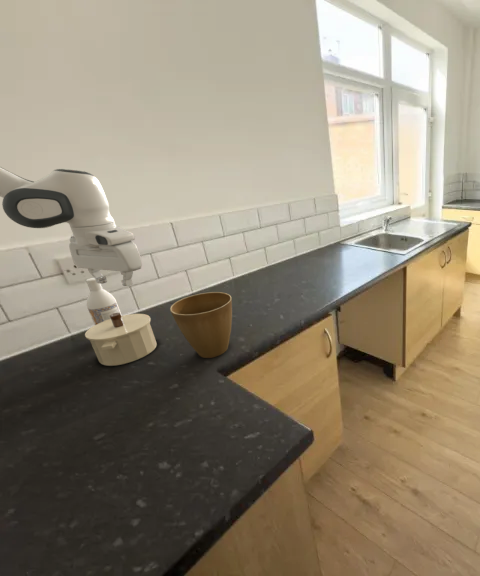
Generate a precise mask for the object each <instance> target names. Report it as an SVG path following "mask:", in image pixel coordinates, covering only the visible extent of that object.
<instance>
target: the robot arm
mask: <svg viewBox="0 0 480 576" xmlns="http://www.w3.org/2000/svg"><path fill="white" fill-rule="evenodd" d="M0 197H1V198H2V204H1V205H2V209H3V212H4V213H5V215H6V216H7V217H8V218H9V219H10V220H11V221H13V222H14V223H16V224H18V225H20V226H21V227H26V228H30V229H46V228H47V229H48V228H51V227H53V226H56V225H59V224H65V223H67V224H68V225H69V227H70V230H71V233H72V234H71V235H70V238H69V244H68V247H69V252H70V255H71V259H72V261H73V264H74V266H76V267H77V268H78V269H87V271H88V273H89V274H90V275H91V276H92V278H95V280H96V282H97V283H99V284H101V285H103V284H106V283H107V282H108V280H107V277H106V275H103V273H102V271H109V272H110V271H111V272H120V275H122V279H121V280H120V282H121V283H122V286H123V287H130V286H132V285H134V282H133V274H134V272H135V271H139V270H141V269H142V267H143V260H142V257H141V253H140V251H139V248H138V246H137V244H136V243H135V242H134V241H135V237H136V236H135V234H134V233H133V232H131V231H130V230H127V229H126V228H125V229H124V228H122V227H120V226H119V225H117V224H116V221H115V219H114V217H113V216H112V215H111V212H110V203H109V200H108V198H107V195H106V193H105V190H104V188H103V186H102V184H101V182H100V180H99V179H98V178H97V177H96V176H95V175H94V174H92V173H90V172H88V171H82V170H77V169H76V170H75V169H65V168H56V169H53V170H52V171H51V172H50V173H49V174H47V175H46V176H43V177H42V178H40V179H38V180H35V181H33V180H29V179H28V178H27V179H26V178H24V177H22V176H19V175H17V174H15V173H14V172H11V171H9V170H7V169H6V168H4V167H2V166H0Z"/></svg>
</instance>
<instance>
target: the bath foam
mask: <svg viewBox="0 0 480 576" xmlns="http://www.w3.org/2000/svg"><path fill="white" fill-rule="evenodd" d="M85 282H86V284H87V287H88V289H89V293H88V295H87V298H86V306H87V311H88V313H89V315H90V317H91V320H92V322H93V324H94V326H95V325H97V324H99V323H101V322H103V321H106V320H109V319H110V315H111V314H114V313H120V314H121V316H123V315H122V312H121V310H120V307H119V305H118V301H117V300H116V298H115V296H113V294H112V293H110V292H109V291H108V290H106V289H104V287H103V286H102V284H99V283H97V282H96V280H95V278H94V277H90V278H86V280H85Z"/></svg>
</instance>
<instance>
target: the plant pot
mask: <svg viewBox="0 0 480 576" xmlns="http://www.w3.org/2000/svg"><path fill="white" fill-rule="evenodd" d="M169 311H170V313H171V315H172V317H173V319H174V321H175V323H176V325H177V327H178V329H179V330H180V332H181V333H182V335H183V336H184V338H185V340H186V341H187V342H188V343H189V345H190V346H191V347H192V349H193V350H194V351H195V352H196V353H197V354H198V356H199V357H200V358H203V359H212V358H216V357H219V356H221V355H223V354H224V353H226V352H227V351H228V348H229V345H230V338H231V332H232V322H233V301H232V296H231V295H230V294H229V293H226V292H220V291H211V292H202V293H197V294H193V295H189V296H187V297H186V296H185V297H183V298H181V299H179V300H177V301H175V302H174V303H173V304H171V305H170V307H169Z"/></svg>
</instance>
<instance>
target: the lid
mask: <svg viewBox="0 0 480 576" xmlns="http://www.w3.org/2000/svg"><path fill="white" fill-rule="evenodd" d="M121 315H122V313H121V314H120V313H114V314H111V315H110V319H109V320H106V321H103V322H101V323H99V324H97V325H95V324H94V325H93V326H92V327H91V326H90V328H88V329H87V330H86V332H85V333H84V337H85V339H86V340H88V341H90V340H91V341H105V340H111V339H116V338H120V337H123V336H127V335H129V334H132V333H134V332H137V331H139V330H141V329H142V328H144V327H146V326H147V325H148V324H149V323H150V324H151V321H152V318H151V316H149V315H148V314H144V313H131V314H123V315H122V316H121Z"/></svg>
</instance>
